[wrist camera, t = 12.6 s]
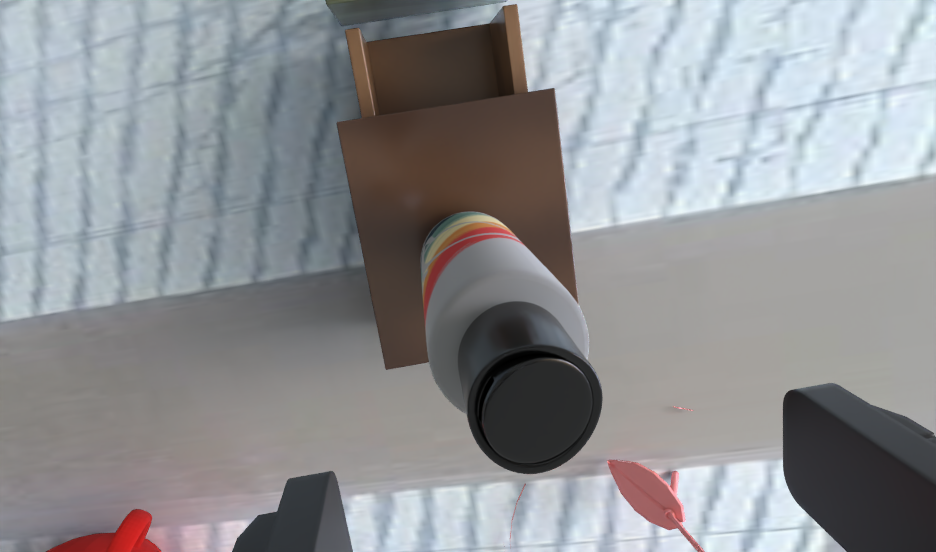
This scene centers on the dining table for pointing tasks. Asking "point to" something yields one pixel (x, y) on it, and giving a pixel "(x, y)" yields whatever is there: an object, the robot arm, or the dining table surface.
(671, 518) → the figurine
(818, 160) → the dining table surface
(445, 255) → the lotion bottle
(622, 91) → the dining table surface
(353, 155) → the cabinet
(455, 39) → the drawer
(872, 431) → the robot arm
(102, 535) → the ceramic cup
